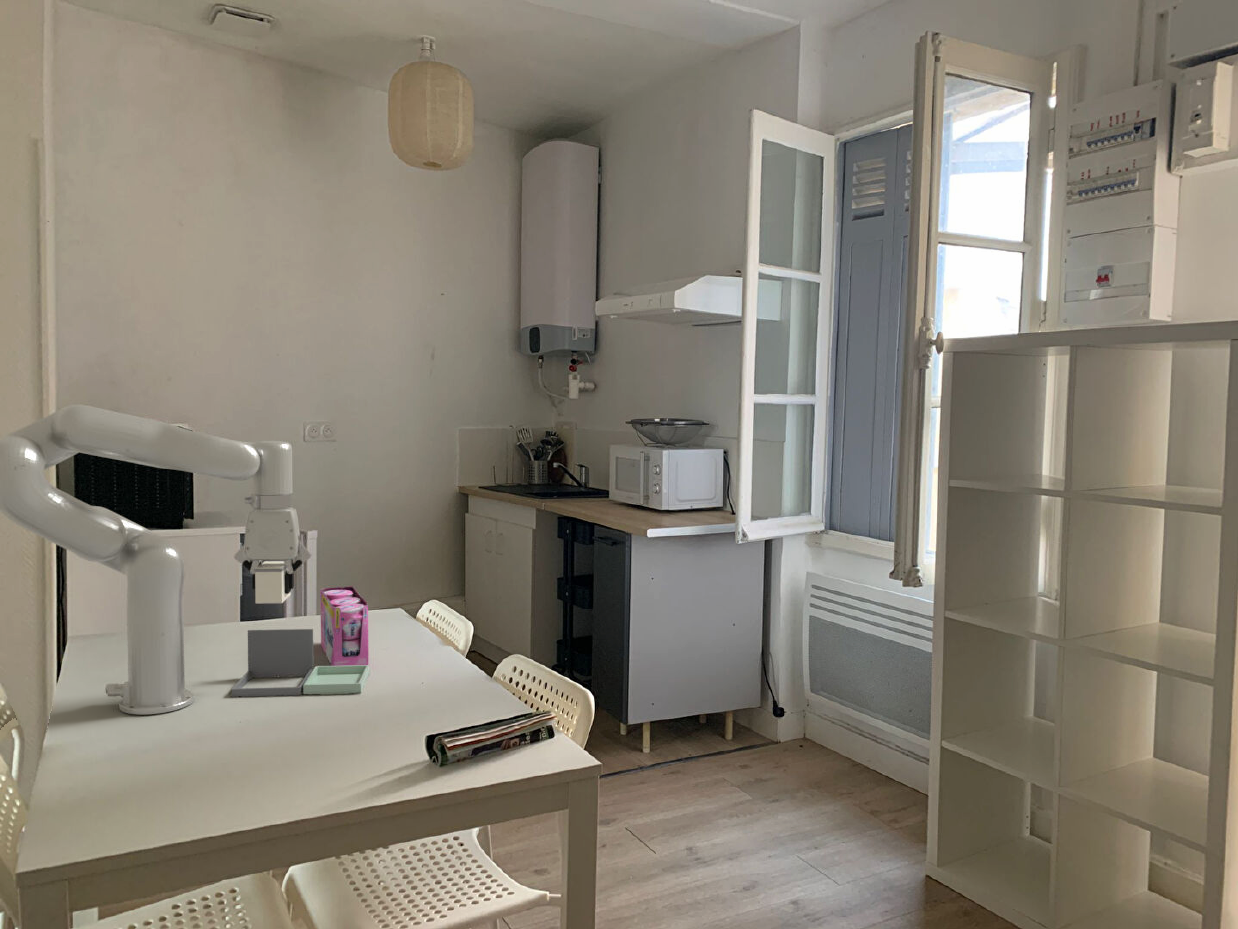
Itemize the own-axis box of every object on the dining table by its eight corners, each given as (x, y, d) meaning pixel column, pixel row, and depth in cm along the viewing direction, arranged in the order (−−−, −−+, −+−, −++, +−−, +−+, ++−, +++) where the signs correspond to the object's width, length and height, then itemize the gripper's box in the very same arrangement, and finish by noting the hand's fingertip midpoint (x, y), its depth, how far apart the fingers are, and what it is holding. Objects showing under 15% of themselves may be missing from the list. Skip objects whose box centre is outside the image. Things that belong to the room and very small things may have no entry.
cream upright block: (254, 603, 181) (254, 568, 181) (264, 595, 190) (264, 561, 189) (282, 603, 182) (282, 568, 182) (291, 594, 190) (291, 561, 190)
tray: (303, 695, 182) (303, 685, 181) (315, 675, 194) (315, 666, 194) (360, 693, 183) (360, 683, 183) (369, 674, 196) (369, 665, 196)
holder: (231, 697, 180) (230, 646, 179) (248, 677, 193) (248, 630, 192) (300, 695, 181) (300, 645, 181) (313, 675, 194) (313, 628, 194)
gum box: (370, 667, 201) (370, 606, 200) (333, 671, 198) (332, 609, 197) (354, 641, 223) (353, 585, 222) (319, 644, 220) (319, 587, 219)
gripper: (222, 504, 180) (223, 597, 181) (313, 504, 182) (313, 596, 183) (233, 500, 187) (234, 589, 188) (320, 500, 189) (320, 588, 191)
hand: (273, 591), depth 186 cm, fingers closed on cream upright block, 5 cm apart
